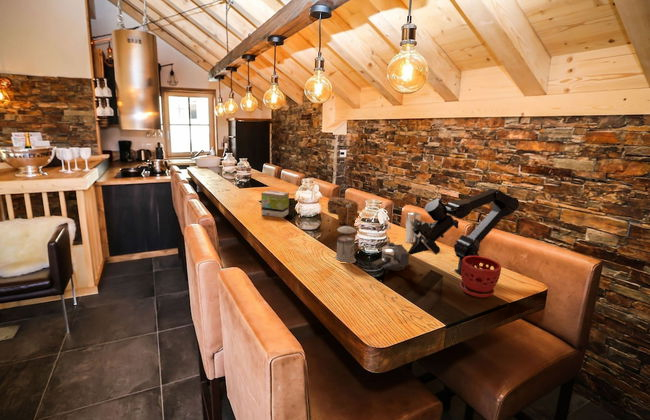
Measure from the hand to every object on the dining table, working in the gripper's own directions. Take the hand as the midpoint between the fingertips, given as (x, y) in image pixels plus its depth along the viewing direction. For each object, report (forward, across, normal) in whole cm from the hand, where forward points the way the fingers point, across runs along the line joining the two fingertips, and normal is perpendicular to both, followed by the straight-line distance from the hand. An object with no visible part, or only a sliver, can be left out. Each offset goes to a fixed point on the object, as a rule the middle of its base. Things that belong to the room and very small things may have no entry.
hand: (408, 253), depth 140 cm
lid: (+4, -7, 0) cm, 8 cm away
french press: (+23, -17, -9) cm, 30 cm away
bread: (+18, -104, -4) cm, 105 cm away
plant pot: (-9, +13, +23) cm, 28 cm away
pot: (+11, -9, +3) cm, 14 cm away
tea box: (+49, -94, -35) cm, 111 cm away
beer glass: (-4, -45, +17) cm, 48 cm away
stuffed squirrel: (+17, -76, -3) cm, 78 cm away
